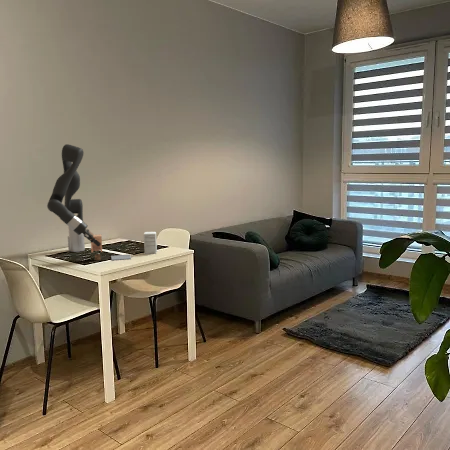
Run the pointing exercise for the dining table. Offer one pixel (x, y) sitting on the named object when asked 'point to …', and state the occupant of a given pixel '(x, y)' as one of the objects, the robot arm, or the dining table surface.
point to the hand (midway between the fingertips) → (99, 244)
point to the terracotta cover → (94, 246)
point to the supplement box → (150, 243)
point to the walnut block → (97, 257)
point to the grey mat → (120, 257)
